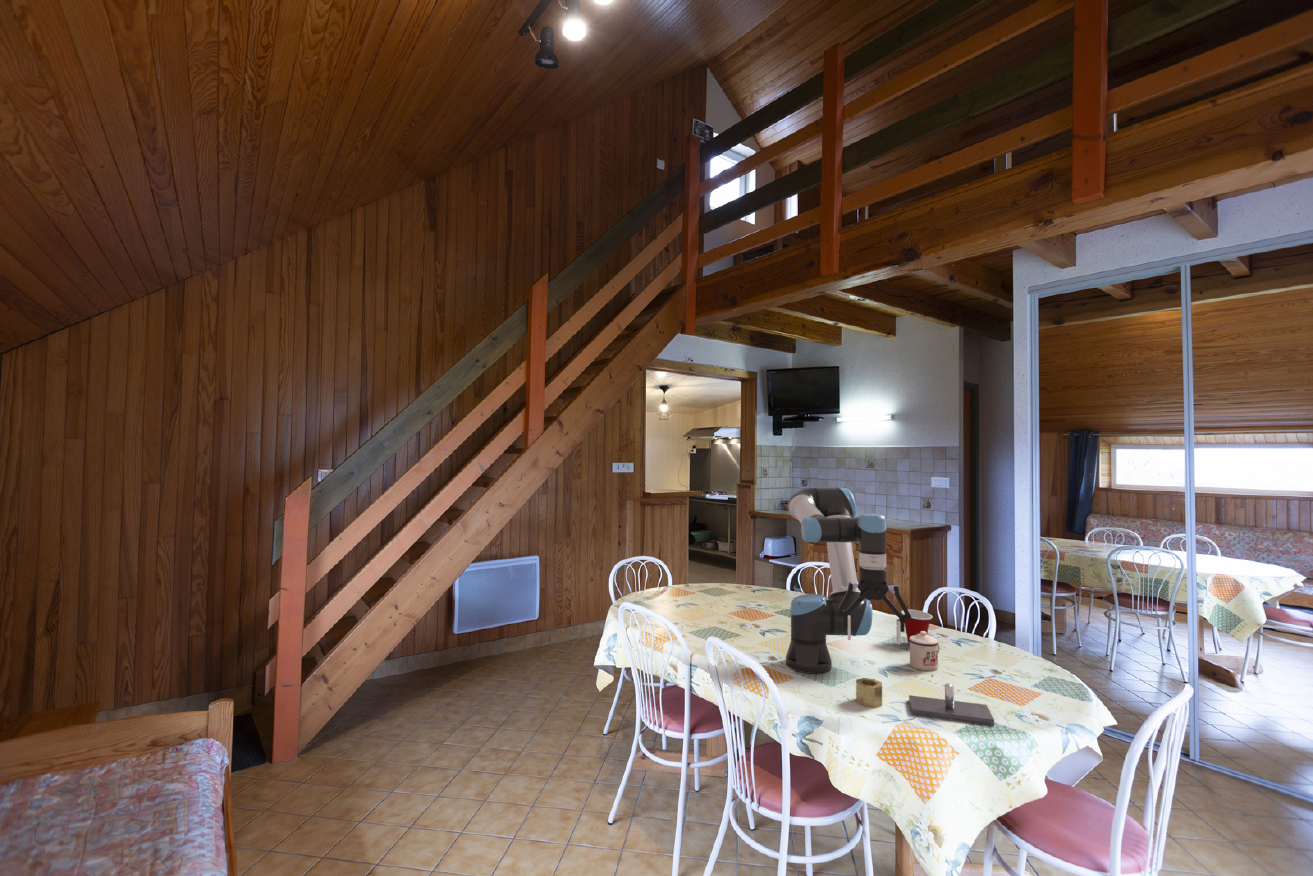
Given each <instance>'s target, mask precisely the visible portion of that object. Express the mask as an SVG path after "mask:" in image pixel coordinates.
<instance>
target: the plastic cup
mask: <svg viewBox="0 0 1313 876" xmlns="http://www.w3.org/2000/svg"><path fill="white" fill-rule="evenodd" d="M908 611H909V613H910V615H911V619H907V620H905V622H904V624H905V634H906V639H907V644H908V645H909V646H910V641H909V638H910V637H911V636H914V635H917V634H920V632H921V631H925V632H926V633H927V635H929V634H928V632H929V628H930V622H931V620H932V619H933V615H932V614H930V613H928V612H925V611H921V610H916V609H908ZM900 613H901V614H902V615H903V614H905V613H904V611H903V610H901V612H900Z"/></svg>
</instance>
